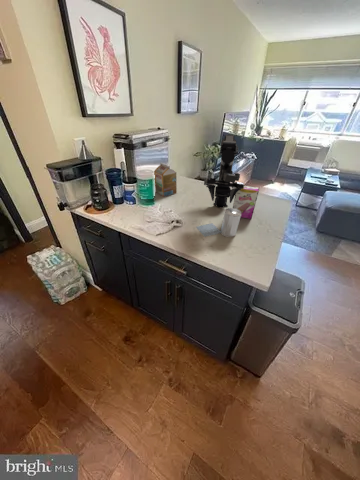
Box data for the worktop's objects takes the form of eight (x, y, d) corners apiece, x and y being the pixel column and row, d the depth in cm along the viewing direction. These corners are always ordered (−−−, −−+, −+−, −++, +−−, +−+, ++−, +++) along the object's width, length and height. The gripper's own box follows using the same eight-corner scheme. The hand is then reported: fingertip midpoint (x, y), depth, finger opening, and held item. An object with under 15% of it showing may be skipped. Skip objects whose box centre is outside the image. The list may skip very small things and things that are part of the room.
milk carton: (155, 191, 138) (153, 163, 127) (168, 188, 143) (167, 161, 132) (163, 196, 131) (162, 167, 120) (176, 193, 136) (176, 164, 125)
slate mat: (212, 223, 103) (212, 223, 103) (221, 233, 96) (222, 232, 95) (195, 227, 100) (195, 226, 100) (204, 237, 93) (204, 236, 92)
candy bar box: (230, 216, 110) (236, 187, 100) (232, 212, 114) (237, 184, 104) (251, 219, 107) (259, 190, 97) (252, 215, 111) (259, 187, 101)
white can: (226, 227, 100) (231, 206, 93) (238, 234, 95) (244, 212, 89) (217, 231, 96) (222, 210, 89) (229, 239, 91) (234, 217, 85)
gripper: (213, 162, 86) (208, 198, 88) (252, 168, 89) (247, 203, 91) (205, 167, 97) (201, 199, 99) (240, 173, 100) (236, 204, 102)
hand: (221, 201), depth 97 cm, fingers open, 9 cm apart
